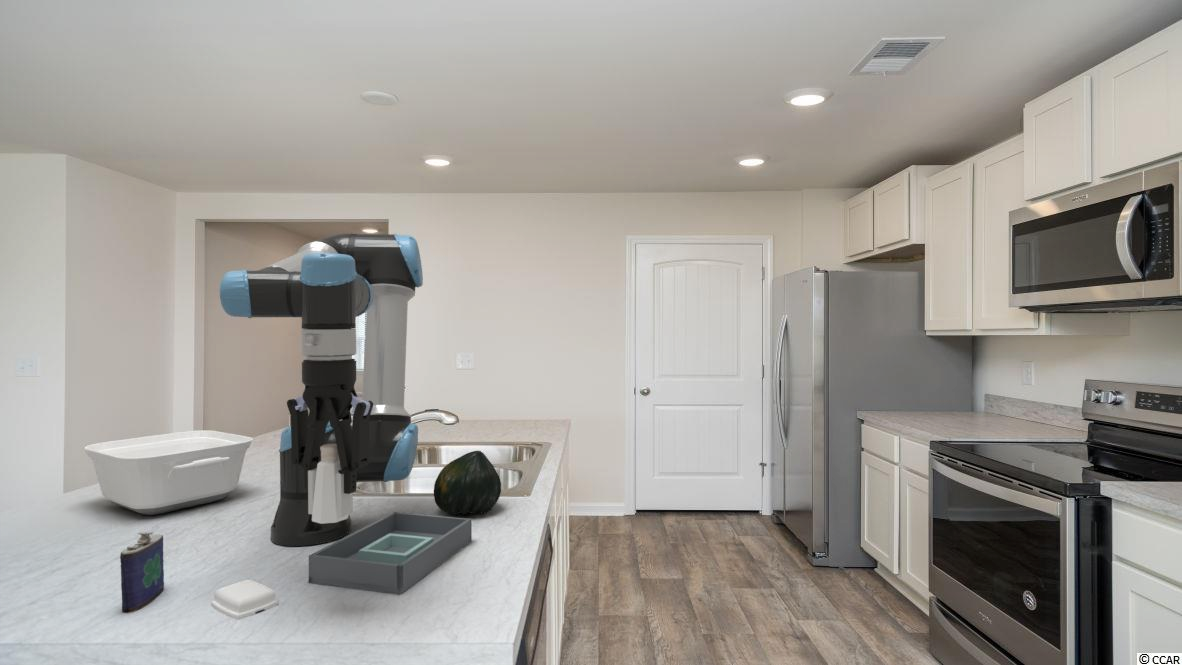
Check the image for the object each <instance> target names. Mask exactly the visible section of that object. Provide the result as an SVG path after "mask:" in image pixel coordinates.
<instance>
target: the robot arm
mask: <svg viewBox="0 0 1182 665" xmlns="http://www.w3.org/2000/svg"><path fill="white" fill-rule="evenodd" d="M421 260H422V259H421V254H420V248H419V245H418V241H417V240H416V238H414V236H412V235H407V234H397V233H392V234H389V233H387V234H386V233H352V232H351V233H347V232H346V233H340V234H339V233H338V234H333V235H329V236H325V237H322V238H318V239H315V240H313V241H310V242H308V243H306V244H304V245H302V246H301V247H299V249H298V250H297V251H296V252H295V253H294V254H293V255H291V256H288V257H287V258H284V259H282V260H279V261H277V262H274V263H272V264H270V265H268V266H265V267H263V268H261V269H258V270H247V269H242V270H231V271H227V272H226V273H225V274H224V275H223V277H222V279H221V280H220V285H219V300H220V305H221V307H222V309H223V310H224V312H225V313H226V314H227V315H228V316H231V317H237V318H248V319H252V318H301V355H302V356H303V357H306V358H305V359H303V361H302V362H301V382H302V384H303V385H304V390H303V392H302V396H298V397H297V398H296V397H295V398H290V399H288V400H287V401H286V406H287V409H288V412H289V415H290V426H287V427H286V428H284V429H283V430H282V432H281V434H280V441H279V442H280V443H279V444H280V446H279V449H278V453H279V478H280V479H279V482H280V483H279V484H280V485H279V492H280V496H279V503H278V506H277V508H276V511H275V515H274V518H273V522H272V524H271V526H270V540H271V542H272V543H273V544H276V545H280V546H288V547H302V546H303V547H304V546H305V547H306V546H313V545H321V544H323V543H324V544H325V543H328V542H332V541H333V542H334V541H335V540H339V539H342V538H344V536H345V537H346V536H348V534H350V532H351V531H352V518H351V516H350V514H351V513H353V511H354V506H353V505H354V501H353V500H354V499H353V498H354V497H353V493H355V492H356V491H357V488H358V486H357V483H369V482H371V483H372V482H373V483H374V482H375V483H376V482H377V483H378V482H384V483H387V482H393V481H395V482H396V481H403V480H405V479H407V478H408V477H409V475H410V474H411V472H412V470H413V466H414V463H415V460H416V454H417V448H418V441H419V438H418V437H419V428H418V425H417V424H415V423H414V422H412V414H410V413H409V412H408V411H407V410H406V409H405V392H406V391H405V388H406V387H405V386H406V385H405V384H406V358H407V335H408V334H407V332H408V331H407V330H408V304H409V303H408V302H409V301H410V300H411V299H413V298H414V297H415V296H416V288H420V287H423V284H424V283H423V282H424V281H423V280H424V278H423V268H422V267H423V266H422V261H421ZM365 313H366V317H365V334H364V337H365V338H364V354H363V355H364V356H363V373H362V389H361V390H362V393H361V398H360V397H358V394H357V391H356V390H355V384H356V382H357V360H356V359H355V358H353V356H355V355H356V354H357V326H356V325H357V324H356V322H357V320H356V319H357V317H360V316H361V315H364V314H365ZM351 413H353V415H352V414H351ZM325 444H336V445H337V450H338V455H339V460H340V465H341V470H339V471H338V473H336V476H337V517H343V516H345V515H347V514H349V516H348V518H347V519H345V520H342V521H339V522H336V523H324V524H320V523H317V522H313V521H312V512H313V502H314V491H315V481H316V471H317V464H318V463H319V462H320V461H322V460H321V450H320V447H321V446H323V445H325Z"/></svg>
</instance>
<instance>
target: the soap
mask: <svg viewBox="0 0 1182 665" xmlns="http://www.w3.org/2000/svg"><path fill="white" fill-rule="evenodd" d="M277 604H278V605H279V599H277V598H276V592H275V591H274V590H273V589H271V588H269V587H268V586H266V585H264V584H262V583H259V582H257V581H254V580H252V579H250V578H249V579H245V580H242V581H238V582H235V583H232V584H229V585H226V586H223V587H220V588H218V589H217V590H215V592H214V599H213V600H211V602H210V606H211V608H213V610H216V611H217V612H219V613H220V614H223V615H224V614H225V615H224V616H226V617H229V618H232V619H235V620H242V619H246V618H249V617H251V616H255V615H256V613H258V612H260V611H263V610H264V611H267V609H268V610H270V609H273V608H274V607H277V606H278V605H277ZM276 605H277V606H276ZM269 608H270V609H269ZM248 616H249V617H248Z"/></svg>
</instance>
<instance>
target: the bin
mask: <svg viewBox="0 0 1182 665" xmlns="http://www.w3.org/2000/svg"><path fill="white" fill-rule="evenodd" d="M472 525H473V523H472V518H466V517H465V518H464V517H453V516H442V515H431V514H421V513H419V514H418V513H407V512H398V511H394V512H391V513H390V514H387V515H386V516H384V517H382V518H380V519H378V520H376V521H374V522H372V523H370V524H368V525H366V526H364V527H362V528H361V529H359V530H357V531H354V532H353V533H349V535H348V534H347V535H345V537H342V538H340V539H338V540H337V541H335V542H333V543H331V544H329V545H327V546H325V547H323V548H321V549H319V550H318V551H315V552H314V553H311V554H309V555H308V583H309V584H315V585H316V584H317V585H323V586H324V585H326V586H333V587H340V588H341V587H342V588H347V589H354V590H355V589H356V590H361V591H369V592H370V591H371V592H380V593H386V594H395V595H402V594H403V593H405V592H406V591H407V590H409V589H410V588H412V587H413V586H414V585H416V584H417V583H418V582H420V581H421V580H422V579H423V578H424V577H426V576H427V575H429V574H430V573H431V572H433V571H434V570H435V569H436V568H438V567H440V566H441V565H442V564H443V563H445V562H446V561H447V560H450V558H451V557H453V556H454V555H456V554H457V553H458V552H460V551H462V549H463V548H465V547H466V546H467V545H469V544H470V543H471V542H472V539H473V537H472V532H473V530H472V528H473V527H472Z"/></svg>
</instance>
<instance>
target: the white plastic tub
mask: <svg viewBox="0 0 1182 665" xmlns="http://www.w3.org/2000/svg"><path fill="white" fill-rule="evenodd" d="M253 440H254V438H253V437H251V436H246V435H240V434H235V433H230V432H229V433H228V432H223V431H217V430H210V429H209V430H206V429H205V430H203V429H201V430H187V431H178V432H170V433H163V434H156V435H148V436H140V437H132V438H125V439H117V440H111V441H110V440H109V441H102V442H98V443H93V444H88V445H86V446H85V447H84V448H83V449H84V451H85V454H86V455H87V457H89V458H90V459H91V460H92V463H93V467H94V471H95V474H96V478H97V480H98V484H99V487H100V488H99V489H100V491H101V495H102V496H103V497H104V498H105V499H106V500H107V501H109V502H111V503H112V504H113V505H117V506H119V507H121V508H124V509H126V510H127V509H128V510H130V511H133V512H135V513H139V514H141V515H147V516H155V515H162V514H165V513H170V512H174V511H179V510H183V509H188V508H191V507H196V506H201V505H205V504H209V503H213V502H214V503H215V502H218V501H221V500H223V499H224V498H226V497H227V496H229V495H230V494H231V493H232V492H233V491H234V490H236V488H237V486H239V481H240V477H241V473H242V469H243V464H244V460H245V456H246V453H247V451H248V449H250V446H251V444H252V441H253Z"/></svg>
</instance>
